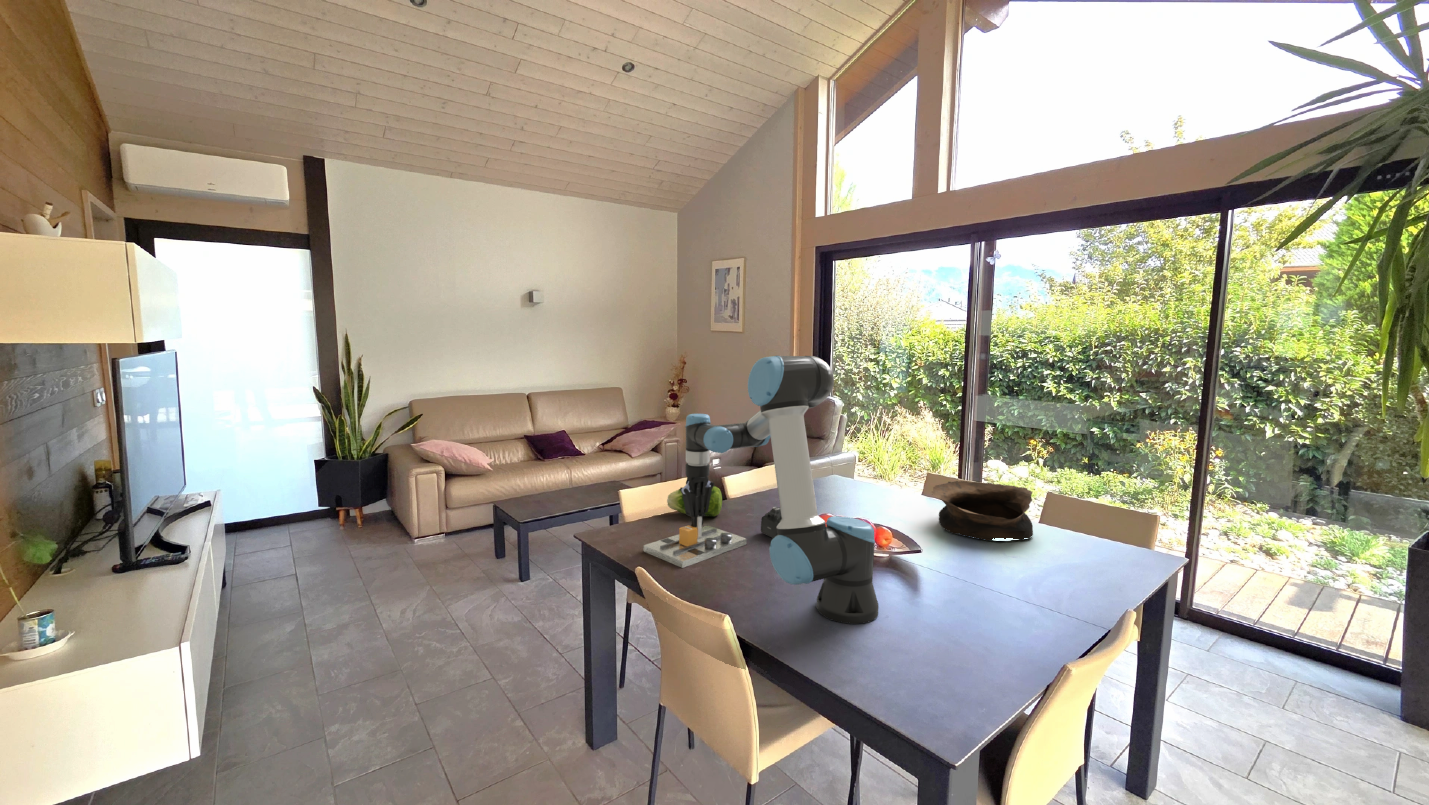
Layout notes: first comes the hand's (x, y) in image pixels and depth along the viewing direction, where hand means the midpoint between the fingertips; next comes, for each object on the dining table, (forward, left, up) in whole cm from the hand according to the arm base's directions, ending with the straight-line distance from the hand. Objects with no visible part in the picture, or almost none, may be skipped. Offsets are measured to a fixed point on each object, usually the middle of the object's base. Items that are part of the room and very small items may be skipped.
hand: (696, 535), depth 193 cm
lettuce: (+25, -23, -4) cm, 34 cm away
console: (0, 0, -4) cm, 4 cm away
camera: (-12, -27, -4) cm, 30 cm away
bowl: (-56, -85, -4) cm, 102 cm away
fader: (0, +4, -2) cm, 4 cm away
